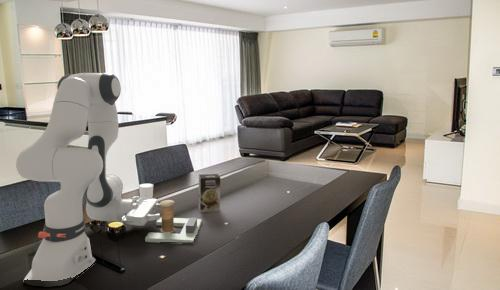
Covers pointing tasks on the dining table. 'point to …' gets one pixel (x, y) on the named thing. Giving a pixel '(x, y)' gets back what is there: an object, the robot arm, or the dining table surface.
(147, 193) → the shot glass
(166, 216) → the bobbin
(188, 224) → the notched board
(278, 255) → the dining table surface
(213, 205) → the coffee box
